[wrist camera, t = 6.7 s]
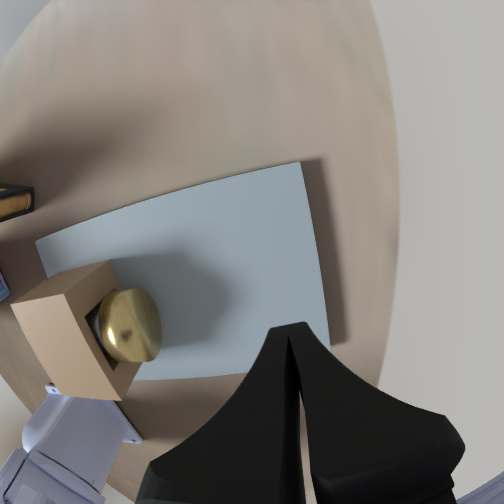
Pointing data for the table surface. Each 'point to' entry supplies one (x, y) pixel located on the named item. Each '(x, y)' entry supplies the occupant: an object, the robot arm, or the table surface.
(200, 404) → the table surface
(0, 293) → the ink cartridge box
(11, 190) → the ammunition clip
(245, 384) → the robot arm
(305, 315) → the mounting board
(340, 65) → the table surface
